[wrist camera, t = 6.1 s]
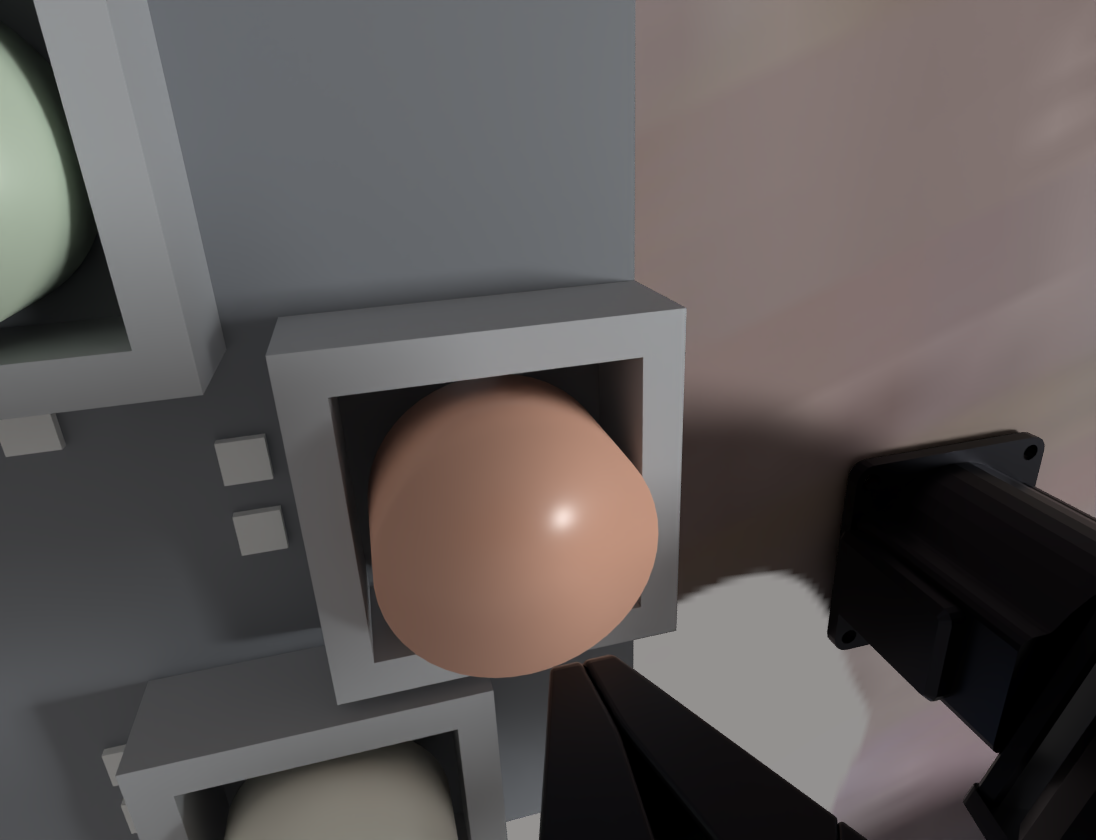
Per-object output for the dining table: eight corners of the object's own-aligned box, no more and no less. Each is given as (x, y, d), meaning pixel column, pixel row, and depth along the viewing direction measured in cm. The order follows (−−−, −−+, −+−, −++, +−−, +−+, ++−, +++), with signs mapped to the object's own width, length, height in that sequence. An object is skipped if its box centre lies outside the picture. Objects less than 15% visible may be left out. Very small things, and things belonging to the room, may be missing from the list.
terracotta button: (608, 358, 14) (661, 404, 11) (610, 570, 16) (656, 645, 13) (349, 392, 13) (350, 449, 10) (385, 615, 14) (393, 704, 12)
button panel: (598, -71, 14) (701, -149, 10) (609, 734, 22) (668, 868, 18) (-355, -81, 11) (-771, -204, 7) (70, 868, 19) (-3, 1069, 15)
